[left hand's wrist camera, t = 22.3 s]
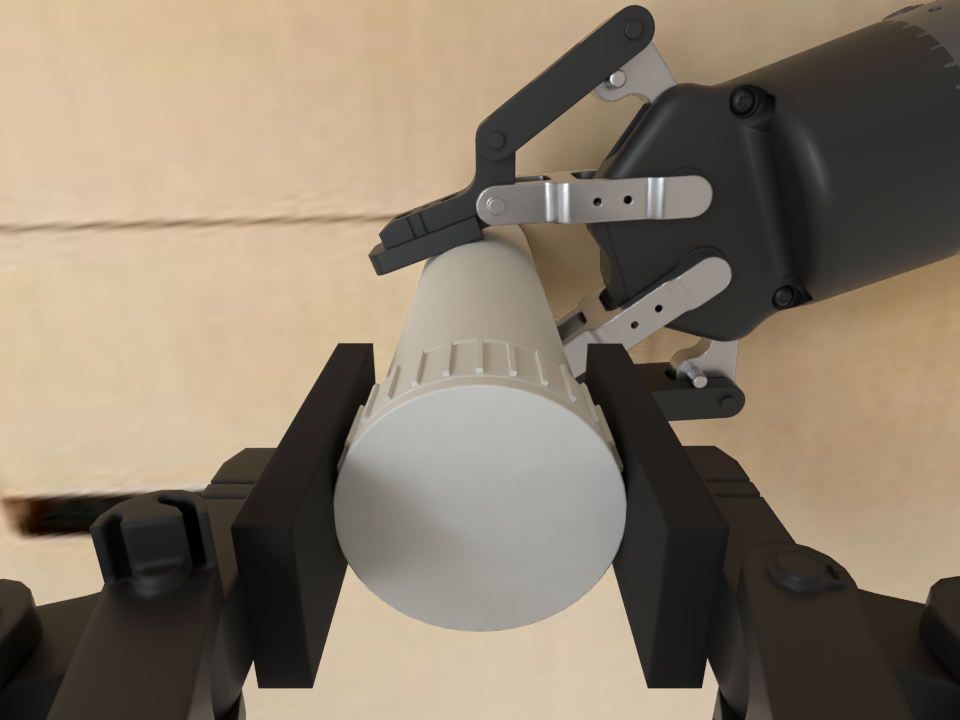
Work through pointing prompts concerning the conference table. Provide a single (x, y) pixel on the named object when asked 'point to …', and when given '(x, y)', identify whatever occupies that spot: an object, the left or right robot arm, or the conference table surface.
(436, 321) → the white bottle
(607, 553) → the lid
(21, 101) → the conference table surface
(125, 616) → the left robot arm
